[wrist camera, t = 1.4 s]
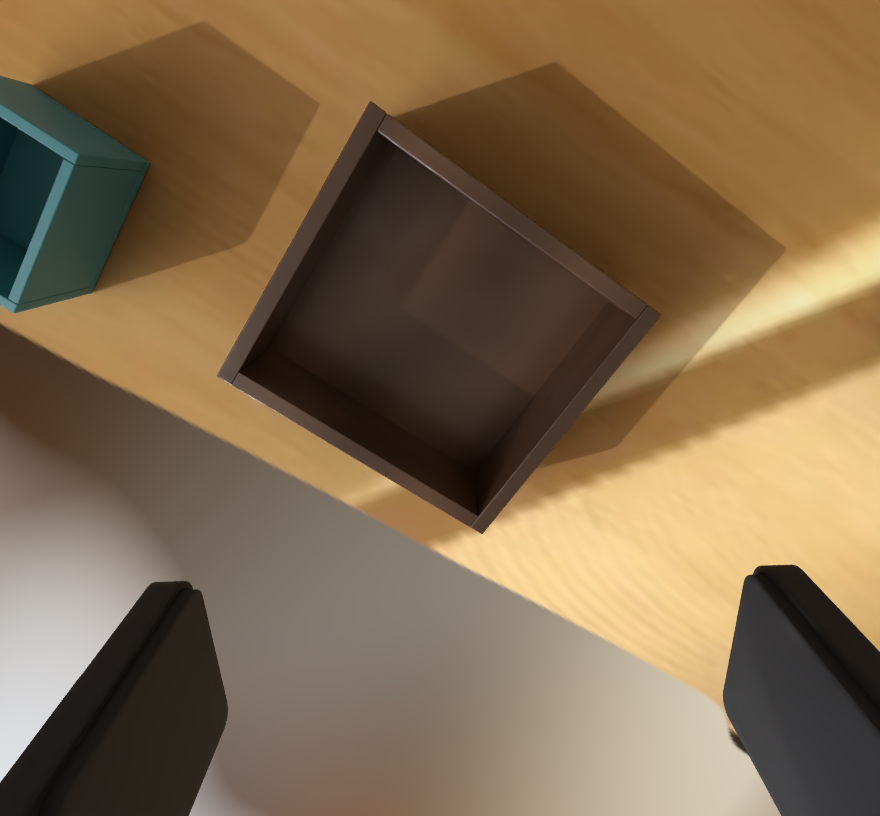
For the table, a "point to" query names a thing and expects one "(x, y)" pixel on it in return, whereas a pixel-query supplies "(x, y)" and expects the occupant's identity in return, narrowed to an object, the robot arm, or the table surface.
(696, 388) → the table surface
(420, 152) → the crate
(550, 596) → the table surface
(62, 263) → the box
